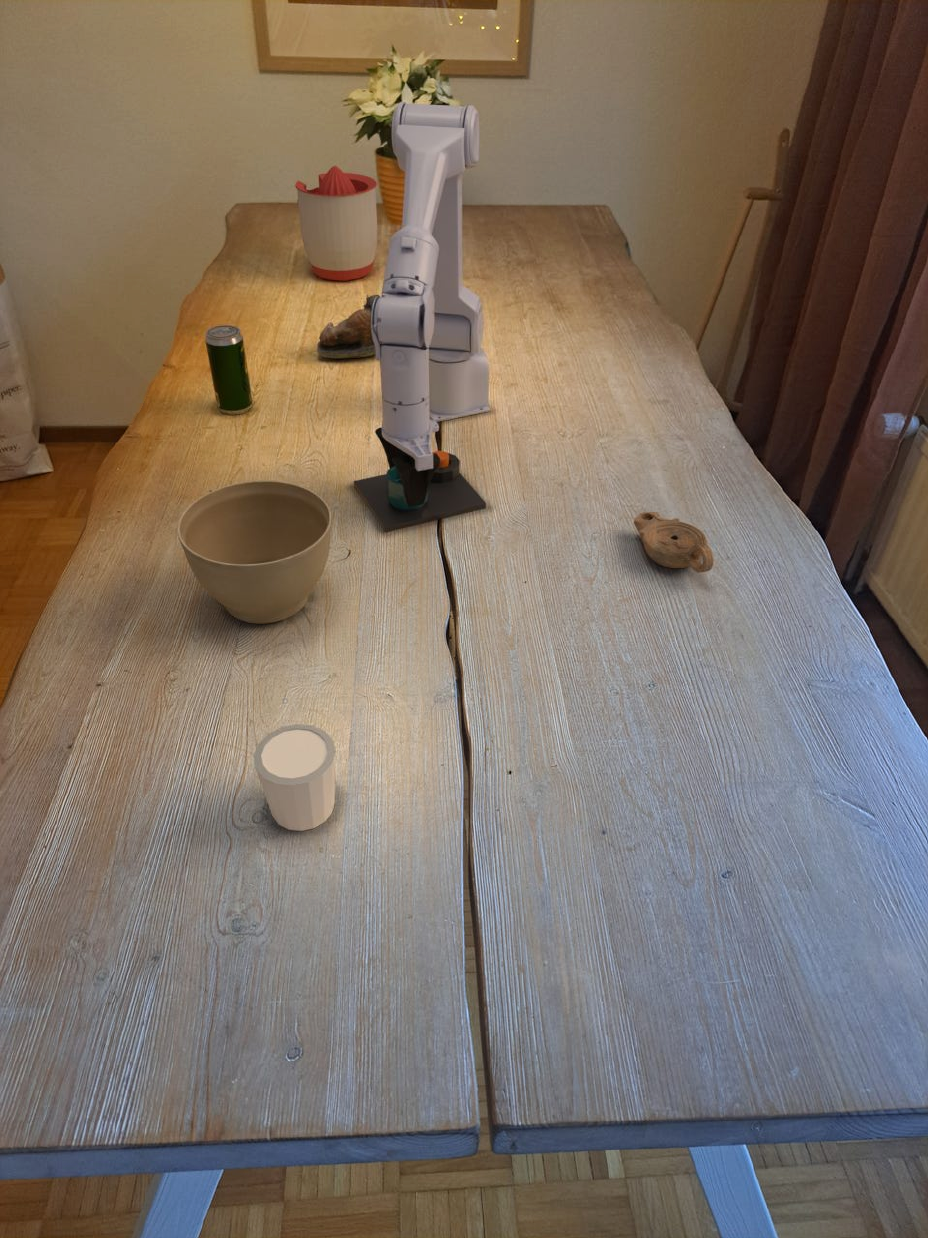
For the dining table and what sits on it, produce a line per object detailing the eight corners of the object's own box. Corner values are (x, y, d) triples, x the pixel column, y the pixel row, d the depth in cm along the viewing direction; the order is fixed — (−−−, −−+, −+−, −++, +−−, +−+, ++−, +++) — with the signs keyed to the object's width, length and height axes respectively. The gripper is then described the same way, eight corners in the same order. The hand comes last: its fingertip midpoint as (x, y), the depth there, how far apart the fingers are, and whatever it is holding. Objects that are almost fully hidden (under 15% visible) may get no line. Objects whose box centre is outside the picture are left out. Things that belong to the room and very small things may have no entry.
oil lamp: (617, 536, 114) (622, 502, 111) (667, 523, 116) (674, 490, 113) (675, 596, 105) (682, 561, 102) (729, 581, 107) (738, 546, 104)
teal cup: (380, 496, 119) (378, 470, 116) (416, 485, 121) (415, 459, 118) (399, 516, 115) (398, 489, 113) (436, 504, 117) (435, 477, 115)
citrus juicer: (333, 252, 195) (325, 150, 182) (396, 269, 187) (392, 163, 174) (281, 272, 185) (269, 165, 172) (345, 291, 177) (337, 181, 164)
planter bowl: (218, 663, 95) (200, 581, 88) (179, 579, 106) (161, 500, 99) (360, 619, 101) (354, 538, 94) (310, 544, 112) (301, 467, 105)
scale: (449, 464, 127) (449, 448, 125) (487, 508, 119) (488, 491, 117) (353, 485, 122) (351, 469, 121) (385, 533, 114) (384, 516, 112)
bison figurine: (318, 365, 151) (312, 305, 145) (317, 348, 157) (312, 289, 150) (390, 362, 153) (387, 303, 146) (387, 345, 158) (384, 287, 151)
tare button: (444, 457, 124) (444, 449, 123) (451, 466, 122) (451, 457, 122) (426, 461, 123) (426, 452, 122) (434, 470, 122) (434, 461, 121)
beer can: (225, 418, 137) (212, 341, 129) (212, 404, 140) (198, 329, 132) (258, 409, 139) (247, 333, 131) (244, 396, 142) (233, 321, 135)
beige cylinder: (267, 777, 83) (257, 725, 79) (342, 773, 84) (336, 721, 79) (260, 839, 78) (249, 786, 74) (340, 834, 79) (334, 782, 74)
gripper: (457, 416, 104) (456, 515, 113) (418, 365, 115) (420, 459, 124) (399, 425, 102) (402, 525, 111) (364, 373, 113) (370, 468, 122)
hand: (408, 491), depth 117 cm, fingers closed on teal cup, 5 cm apart
